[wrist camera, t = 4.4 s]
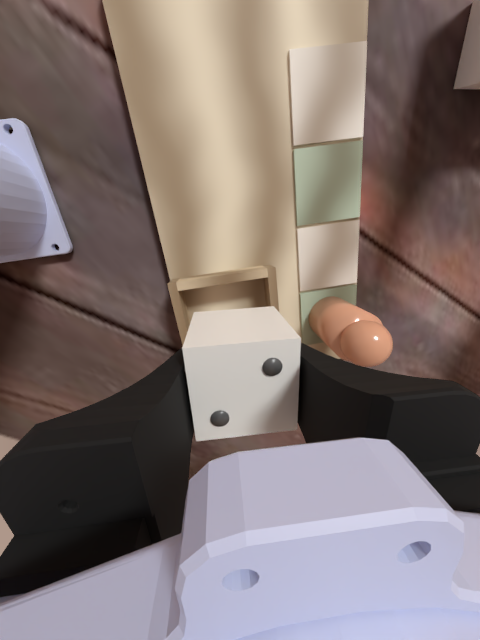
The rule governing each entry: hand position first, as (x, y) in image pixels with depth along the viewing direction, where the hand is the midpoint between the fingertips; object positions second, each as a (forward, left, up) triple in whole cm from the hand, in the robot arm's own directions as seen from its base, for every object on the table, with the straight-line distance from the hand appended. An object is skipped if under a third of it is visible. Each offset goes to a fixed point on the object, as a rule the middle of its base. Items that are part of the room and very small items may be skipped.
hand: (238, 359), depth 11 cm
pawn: (+8, -2, -8) cm, 12 cm away
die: (0, 0, -1) cm, 1 cm away
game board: (+3, +7, -9) cm, 12 cm away
